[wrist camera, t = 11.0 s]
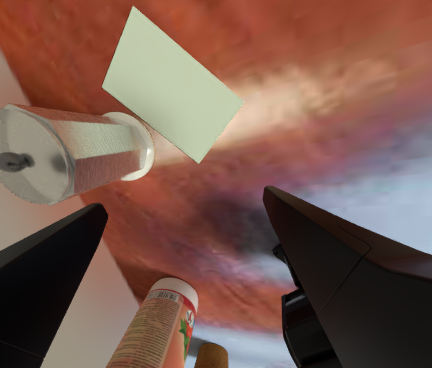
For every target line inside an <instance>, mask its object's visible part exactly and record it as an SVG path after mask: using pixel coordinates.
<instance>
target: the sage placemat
mask: <svg viewBox="0 0 432 368" xmlns="http://www.w3.org/2000/svg"><path fill="white" fill-rule="evenodd" d="M102 88H103V89H105V90H106V91H107V92H108V93H110V94H111V95H112V96H113V97H115V98H116V99H117V100H119V101H120V102H121V103H122V104H124V105H125V106H126V107H127V108H129V109H130V110H131V111H132V112H134V113H135V114H136V115H138V116H139V117H140V118H141V119H143V120H144V121H145V122H146V123H148V124H149V125H150V126H151V127H153V128H154V129H155V130H157V131H158V132H159V133H160V134H162V135H163V136H164V137H165V138H167V139H168V140H169V141H170V142H172V143H173V144H174V145H176V146H177V147H178V148H179V149H181V150H182V151H183V152H184V153H186V154H187V155H188V156H189V157H191V158H192V159H193V160H195V161H196V162H197V163H198V164H199V163H200V162H201V160H202V159H203V158H204V156H205V155H206V154H207V152H208V151H209V150H210V148H211V147H212V145H213V144H214V143H215V141H216V140H217V139H218V137H219V136H220V135H221V133H222V132H223V131H224V129H225V128H226V127H227V125H228V124H229V123H230V121H231V120H232V118H233V117H234V116H235V114H236V113H237V112H238V110H239V109H240V108H241V106H242V105H243V104H244V101H243V100H242V99H240V98H239V97H238V96H237V95H236V94H235V93H233V92H232V91H231V90H230V89H229V88H228V87H226V86H225V85H224V84H223V83H222V82H221V81H220V80H218V79H217V78H216V77H215V76H214V75H213V74H211V73H210V72H209V71H208V70H207V69H206V68H204V67H203V66H202V65H201V64H200V63H199V62H197V61H196V60H195V59H194V58H193V57H192V56H191V55H189V54H188V53H187V52H186V51H185V50H184V49H182V48H181V47H180V46H179V45H178V44H177V43H175V42H174V41H173V40H172V39H171V38H170V37H169V36H167V35H166V34H165V33H164V32H163V31H162V30H160V29H159V28H158V27H157V26H156V25H155V24H153V23H152V22H151V21H150V20H149V19H148V18H146V17H145V16H144V15H143V14H142V13H141V12H140V11H138V10H137V9H136V8H135V7H134V6H133V7H132V10H131V12H130V15H129V18H128V20H127V23H126V25H125V28H124V31H123V33H122V36H121V38H120V41H119V44H118V46H117V49H116V51H115V54H114V57H113V59H112V62H111V64H110V67H109V70H108V72H107V75H106V77H105V80H104V83H103V85H102Z"/></svg>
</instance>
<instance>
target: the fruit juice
mask: <svg viewBox="0 0 432 368" xmlns="http://www.w3.org/2000/svg"><path fill="white" fill-rule="evenodd" d="M197 309H198V296H197V293H196V291H195V290H194V289H193V287H192V286H190V285H189V284H188V283H186V282H185V281H183V280H180V279H177V278H162V279H160V280H158V281H157V282H156V283H155V284H154V285H153V286H152V287H151V289H150V290H149V292H148V294H147V296H146V297H145V299H144V301H143V303H142V304H141V306H140V308H139V310H138V312H137V313H136V315H135V317H134V319H133V321H132V322H131V324H130V326H129V327H128V329H127V331H126V333H125V334H124V336H123V338H122V340H121V342H120V343H119V345H118V347H117V349H116V350H115V352H114V354H113V356H112V358H111V359H110V361H109V363H108V365H107V366H106V368H184V365H185V361H186V356H187V352H188V348H189V343H190V339H191V335H192V331H193V326H194V322H195V318H196V313H197Z"/></svg>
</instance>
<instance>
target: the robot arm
mask: <svg viewBox="0 0 432 368" xmlns="http://www.w3.org/2000/svg"><path fill="white" fill-rule="evenodd" d="M263 203H264V205H265V208H266V211H267V214H268V216H269V219H270V222H271V224H272V226H273V229H274V230H275V232H276V234H277V236H278V238H279V240H280V242H281V243H280V244H279V245H278V246H277V247H276V248H274V249H273V254H274V255H275V256H276V257H277V258H279V259H280V260H281V261H282V262H284V263H285V264H286V265H287V266H288V268H289V270H290V273H291V276H292V278H293V281H294V284H295V286H296V288H297V290H295V291H293V292H291V293H289V294H287V295H286V294H284V295H282V296H281V299H282V328H283V338H284V341H285V343H286V345H287V348H288V350H289V353H290V355H291V357H292V359H293V361H294V363H295V364H296V366H297V368H432V255H431V254H428V253H424V252H422V251H419V250H416V249H414V248H412V247H409V246H407V245H404V244H402V243H399V242H397V241H394V240H392V239H389V238H387V237H385V236H382V235H380V234H377V233H375V232H372V231H370V230H368V229H365V228H363V227H360V226H358V225H356V224H354V223H351V222H349V221H347V220H345V219H343V218H340V217H338V216H336V215H334V214H332V213H330V212H328V211H325V210H323V209H321V208H319V207H317V206H315V205H313V204H310V203H308V202H306V201H304V200H302V199H300V198H298V197H295V196H293V195H291V194H289V193H287V192H285V191H282V190H280V189H278V188H276V187H274V186H266V187H265V188H264V193H263ZM107 220H108V214H107V212H106V210H105V208H104V206H103V205H102V204H101V203H92V204H90V205H88V206H86V207H84V208H82V209H80V210H78V211H76V212H74V213H72V214H71V215H69V216H67V217H65V218H63V219H61V220H59V221H57V222H55V223H53V224H51V225H49V226H48V227H45V228H44V229H42V230H40V231H38V232H36V233H34V234H32V235H30V236H28V237H26V238H24V239H23V240H21V241H19V242H17V243H15V244H13V245H11V246H9V247H7V248H5V249H3V250H1V251H0V368H40V367H41V365H42V362H43V359H44V358H45V356H46V354H47V352H48V350H49V347H50V345H51V343H52V341H53V339H54V337H55V335H56V333H57V331H58V329H59V327H60V325H61V322H62V320H63V318H64V316H65V314H66V312H67V310H68V308H69V306H70V304H71V302H72V299H73V297H74V295H75V293H76V291H77V289H78V287H79V285H80V283H81V281H82V278H83V276H84V274H85V272H86V270H87V268H88V266H89V264H90V262H91V260H92V258H93V256H94V253H95V251H96V249H97V247H98V245H99V242H100V240H101V237H102V234H103V231H104V229H105V226H106V223H107ZM275 252H276V253H275Z"/></svg>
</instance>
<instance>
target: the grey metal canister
mask: <svg viewBox="0 0 432 368" xmlns="http://www.w3.org/2000/svg"><path fill="white" fill-rule="evenodd" d="M147 152H148V147H147V145H146V143H145V141H144V139H143V137H142V136H141V134H140V132H139V130H138V128H137V126H135V125H132V124H130V123H127V122H125V121H122V120H120V119H117V118H114V117H107V116H99V115H92V114H84V113H77V112H69V111H62V110H54V109H47V108H39V107H32V106H24V105H17V104H8V105H6V107H4V108H3V109H0V182H1V183H2V184H3V185H4V186H5V187H6V188H7V189H8V190H10V191H11V192H12V193H14V194H15V195H17V196H18V197H20V198H22V199H24V200H26V201H29V202H32V203H36V204H47V205H49V206H50V205H53V204H56V203H59V202H61V201H64V200H66V199H69V198H72V197H74V196H77V195H80V194H82V193H85V192H87V191H90V190H93V189H95V188H98V187H101V186H103V185H106V184H108V183H111V182H114V181H116V180H119V179H122V178H124V177H127V176H129V175H131V174H133V173H135V172H138V171H140V170H142V169H144V166H145V161H146V157H147Z"/></svg>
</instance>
